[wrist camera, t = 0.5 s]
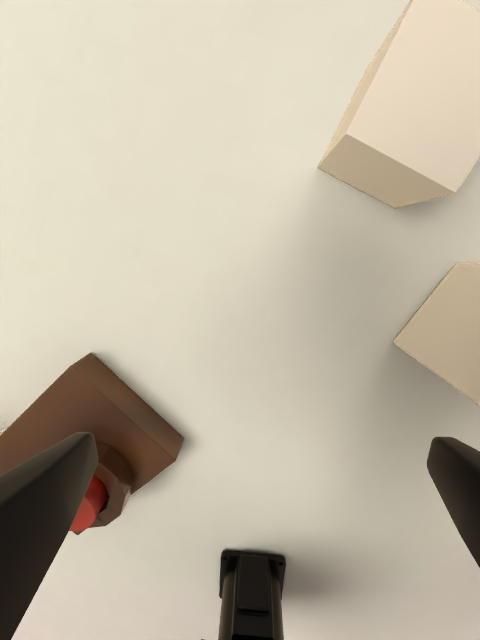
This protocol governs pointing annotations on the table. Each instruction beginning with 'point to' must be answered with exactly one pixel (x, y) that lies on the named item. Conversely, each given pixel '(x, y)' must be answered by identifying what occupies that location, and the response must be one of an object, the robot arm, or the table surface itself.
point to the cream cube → (414, 109)
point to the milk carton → (449, 331)
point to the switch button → (90, 505)
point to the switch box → (96, 431)
